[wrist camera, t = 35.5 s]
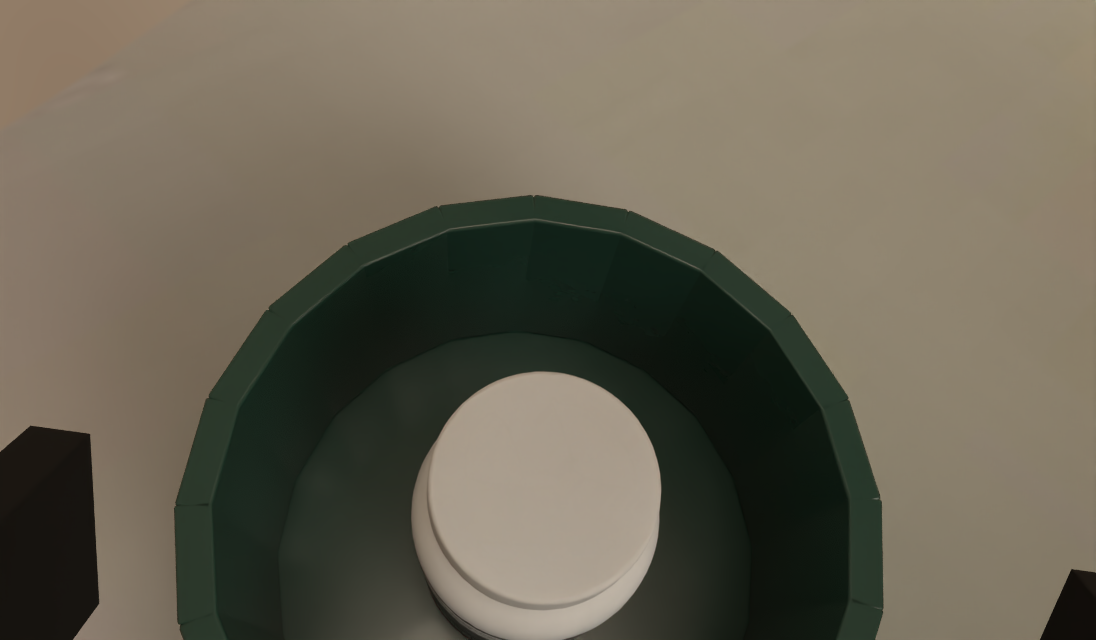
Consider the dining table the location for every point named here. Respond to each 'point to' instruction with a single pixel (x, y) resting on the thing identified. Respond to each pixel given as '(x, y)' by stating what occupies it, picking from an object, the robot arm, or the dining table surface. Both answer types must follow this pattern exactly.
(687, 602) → the pot
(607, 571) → the pill bottle
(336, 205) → the dining table surface
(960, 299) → the dining table surface
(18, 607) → the robot arm
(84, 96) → the dining table surface
